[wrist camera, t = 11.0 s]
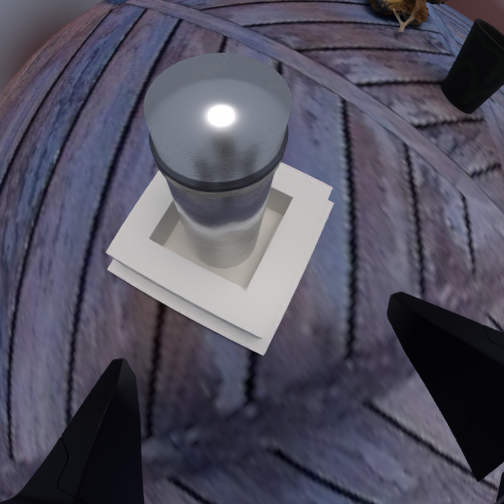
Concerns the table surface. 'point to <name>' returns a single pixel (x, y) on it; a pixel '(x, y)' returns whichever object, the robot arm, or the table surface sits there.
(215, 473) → the table surface
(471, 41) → the cup
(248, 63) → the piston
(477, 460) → the robot arm
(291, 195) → the white square hollow block
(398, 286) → the table surface
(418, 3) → the seed pod
